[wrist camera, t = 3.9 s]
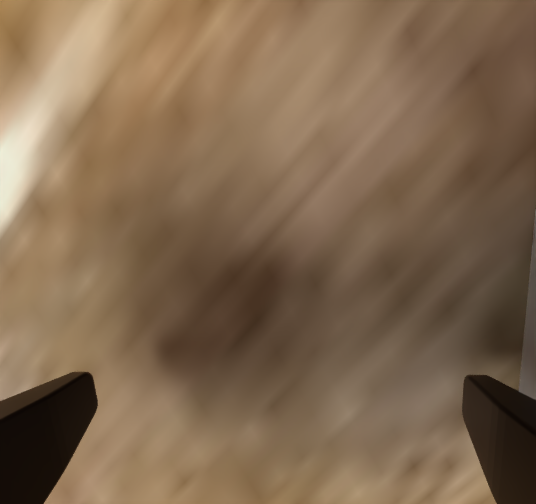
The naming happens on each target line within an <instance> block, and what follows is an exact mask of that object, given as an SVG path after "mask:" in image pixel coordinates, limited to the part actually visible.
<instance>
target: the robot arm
mask: <svg viewBox="0 0 536 504" xmlns="http://www.w3.org/2000/svg"><path fill="white" fill-rule="evenodd" d="M97 406H98V400H97V395H96V390H95V385H94V380H93V376H92V375H91V374H90V373H89V372H72V373H69V374H67V375H64V376H62V377H59V378H57V379H54V380H52V381H49V382H47V383H44V384H42V385H39V386H37V387H34V388H32V389H30V390H27V391H25V392H22V393H20V394H17V395H15V396H12V397H10V398H7V399H5V400H2V401H0V504H44V502H45V501H46V499H47V498H48V496H49V494H50V493H51V491H52V490H53V488H54V487H55V485H56V484H57V482H58V480H59V479H60V477H61V476H62V474H63V472H64V471H65V469H66V467H67V465H68V463H69V462H70V460H71V458H72V456H73V454H74V452H75V450H76V449H77V447H78V445H79V443H80V441H81V439H82V437H83V435H84V433H85V432H86V430H87V428H88V426H89V424H90V422H91V420H92V418H93V416H94V415H95V413H96V410H97ZM462 413H463V418H464V422H465V424H466V427H467V430H468V432H469V435H470V438H471V440H472V443H473V445H474V448H475V451H476V453H477V456H478V459H479V461H480V464H481V467H482V469H483V472H484V475H485V477H486V480H487V482H488V485H489V487H490V490H491V492H492V494H493V497H494V499H495V501H496V503H497V504H536V400H535V399H533V398H531V397H529V396H527V395H525V394H523V393H521V392H519V391H517V390H515V389H513V388H511V387H509V386H507V385H505V384H503V383H501V382H499V381H497V380H495V379H493V378H492V377H490V376H487V375H467V376H466V377H465V379H464V386H463V403H462Z"/></svg>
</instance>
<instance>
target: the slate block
mask: <svg viewBox="0 0 536 504" xmlns="http://www.w3.org/2000/svg"><path fill="white" fill-rule="evenodd" d="M519 392H521V393H523V394H525V395H527V396H529V397H531V398H533V399H535V400H536V211H535V221H534V232H533V243H532V253H531V264H530V275H529V285H528V296H527V307H526V317H525V328H524V339H523V349H522V360H521V371H520V381H519Z"/></svg>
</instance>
